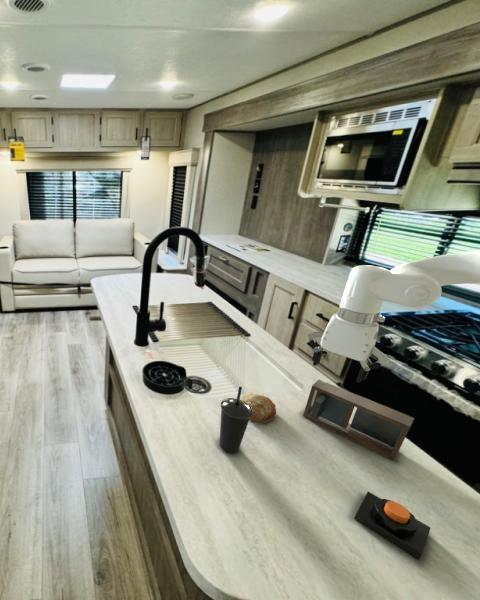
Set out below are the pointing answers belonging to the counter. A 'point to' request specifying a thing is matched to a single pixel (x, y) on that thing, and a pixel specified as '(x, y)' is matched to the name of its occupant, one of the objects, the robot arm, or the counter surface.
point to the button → (396, 512)
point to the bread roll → (260, 407)
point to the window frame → (365, 421)
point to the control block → (393, 526)
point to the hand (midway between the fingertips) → (336, 371)
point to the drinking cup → (233, 422)
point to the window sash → (331, 409)
